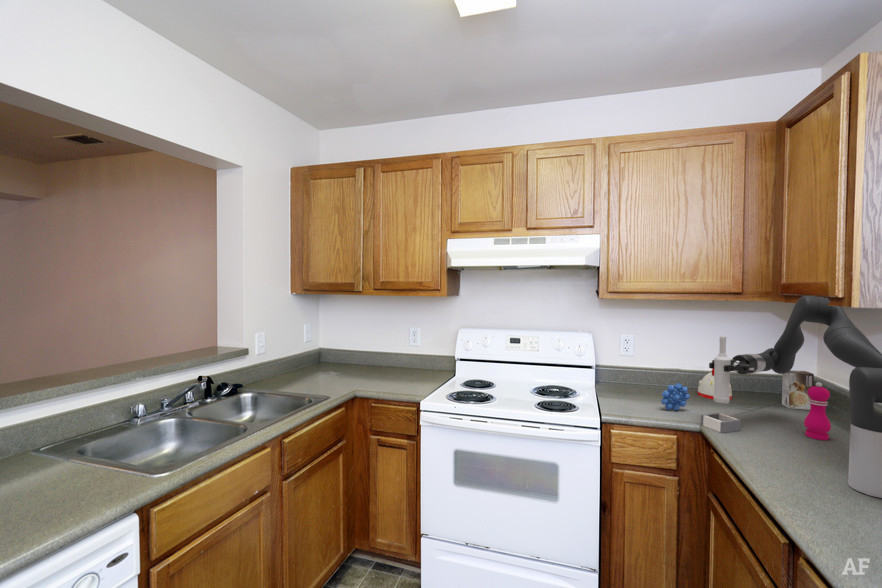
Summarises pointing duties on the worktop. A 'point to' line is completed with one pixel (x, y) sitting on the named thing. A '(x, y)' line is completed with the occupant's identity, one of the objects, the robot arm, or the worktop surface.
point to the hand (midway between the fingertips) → (717, 367)
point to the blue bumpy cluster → (675, 397)
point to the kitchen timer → (709, 386)
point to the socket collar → (721, 422)
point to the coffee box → (796, 389)
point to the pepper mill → (817, 413)
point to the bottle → (721, 374)
